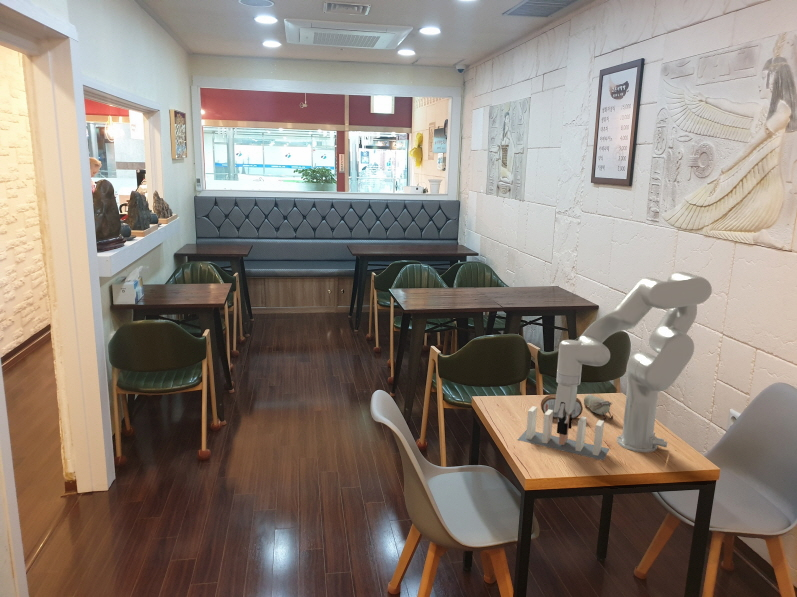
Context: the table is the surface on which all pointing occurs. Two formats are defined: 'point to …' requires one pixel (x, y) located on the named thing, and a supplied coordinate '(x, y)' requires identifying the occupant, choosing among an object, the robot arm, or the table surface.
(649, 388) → the robot arm
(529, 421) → the tile
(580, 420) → the tile
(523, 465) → the table surface
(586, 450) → the slate mat
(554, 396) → the tin
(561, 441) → the tile
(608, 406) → the decorative bird
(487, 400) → the table surface
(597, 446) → the tile
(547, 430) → the tile
